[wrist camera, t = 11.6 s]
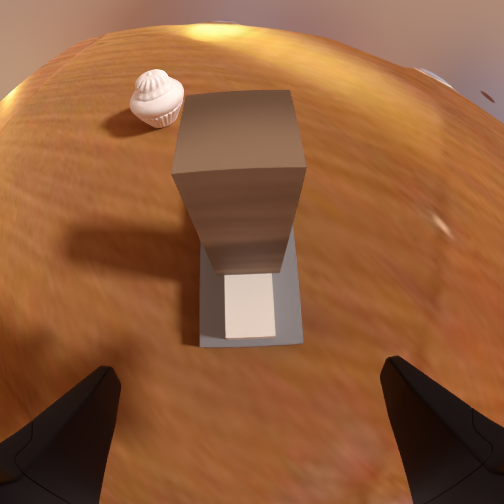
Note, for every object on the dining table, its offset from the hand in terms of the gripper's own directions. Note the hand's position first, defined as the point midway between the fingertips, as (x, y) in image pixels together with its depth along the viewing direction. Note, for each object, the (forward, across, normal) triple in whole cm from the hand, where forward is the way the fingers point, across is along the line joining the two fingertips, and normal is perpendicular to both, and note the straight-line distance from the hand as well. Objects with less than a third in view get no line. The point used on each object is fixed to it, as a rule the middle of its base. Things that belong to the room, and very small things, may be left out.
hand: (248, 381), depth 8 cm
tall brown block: (+11, 0, 0) cm, 11 cm away
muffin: (+26, +9, -10) cm, 30 cm away
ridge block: (+14, 0, +3) cm, 14 cm away
